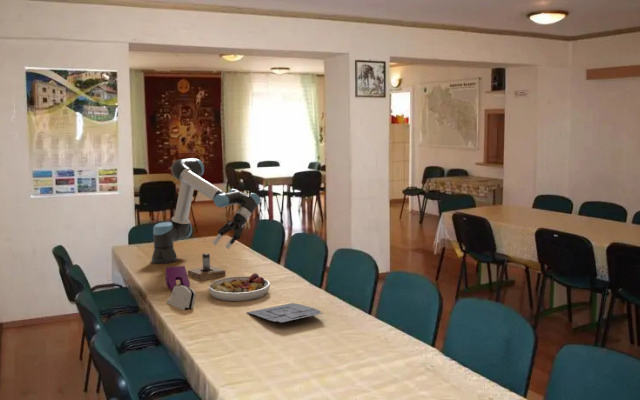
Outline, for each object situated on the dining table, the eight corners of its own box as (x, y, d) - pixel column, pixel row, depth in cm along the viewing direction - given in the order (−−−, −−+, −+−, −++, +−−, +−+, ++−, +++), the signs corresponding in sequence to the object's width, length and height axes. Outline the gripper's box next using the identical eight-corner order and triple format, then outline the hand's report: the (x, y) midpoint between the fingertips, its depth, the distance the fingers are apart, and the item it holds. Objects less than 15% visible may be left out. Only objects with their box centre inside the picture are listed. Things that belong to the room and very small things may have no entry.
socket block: (188, 275, 325) (187, 270, 325) (211, 270, 335) (211, 265, 335) (201, 280, 314) (201, 275, 314) (225, 275, 324) (225, 270, 324)
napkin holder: (166, 302, 276) (171, 282, 277) (174, 303, 279) (180, 283, 280) (183, 310, 263) (189, 289, 264) (192, 312, 266) (198, 290, 268)
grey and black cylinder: (201, 275, 325) (200, 254, 323) (208, 274, 327) (207, 253, 326) (205, 276, 322) (204, 255, 320) (211, 275, 324) (211, 254, 323)
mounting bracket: (190, 301, 297) (183, 278, 311) (191, 288, 293) (184, 265, 307) (171, 304, 293) (165, 280, 308) (171, 291, 289) (165, 267, 303)
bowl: (244, 306, 269) (243, 290, 268) (196, 297, 285) (195, 281, 284) (281, 290, 294) (281, 275, 293) (235, 282, 310) (235, 268, 309)
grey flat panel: (277, 330, 234) (276, 321, 234) (246, 318, 260) (245, 310, 260) (328, 318, 247) (327, 310, 247) (293, 308, 273) (292, 301, 273)
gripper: (258, 223, 329) (236, 253, 321) (233, 218, 348) (212, 246, 340) (250, 215, 325) (228, 245, 317) (226, 210, 344) (204, 238, 336)
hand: (220, 245), depth 328 cm, fingers open, 13 cm apart
